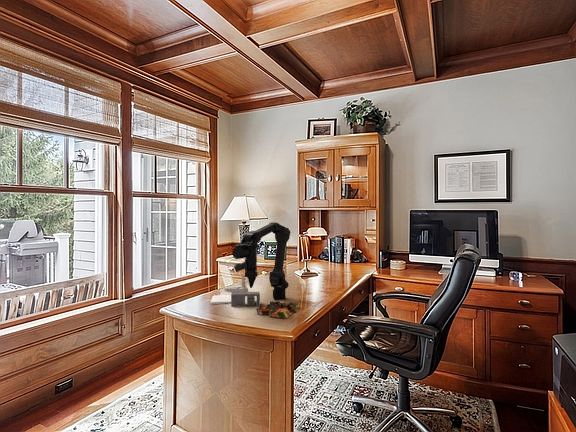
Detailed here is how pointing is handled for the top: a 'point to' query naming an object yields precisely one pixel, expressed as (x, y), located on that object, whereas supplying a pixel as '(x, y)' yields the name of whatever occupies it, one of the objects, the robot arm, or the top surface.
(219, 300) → the white mat
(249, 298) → the plug
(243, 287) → the electronic device
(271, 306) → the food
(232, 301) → the grey notched block
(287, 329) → the top surface
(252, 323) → the top surface
